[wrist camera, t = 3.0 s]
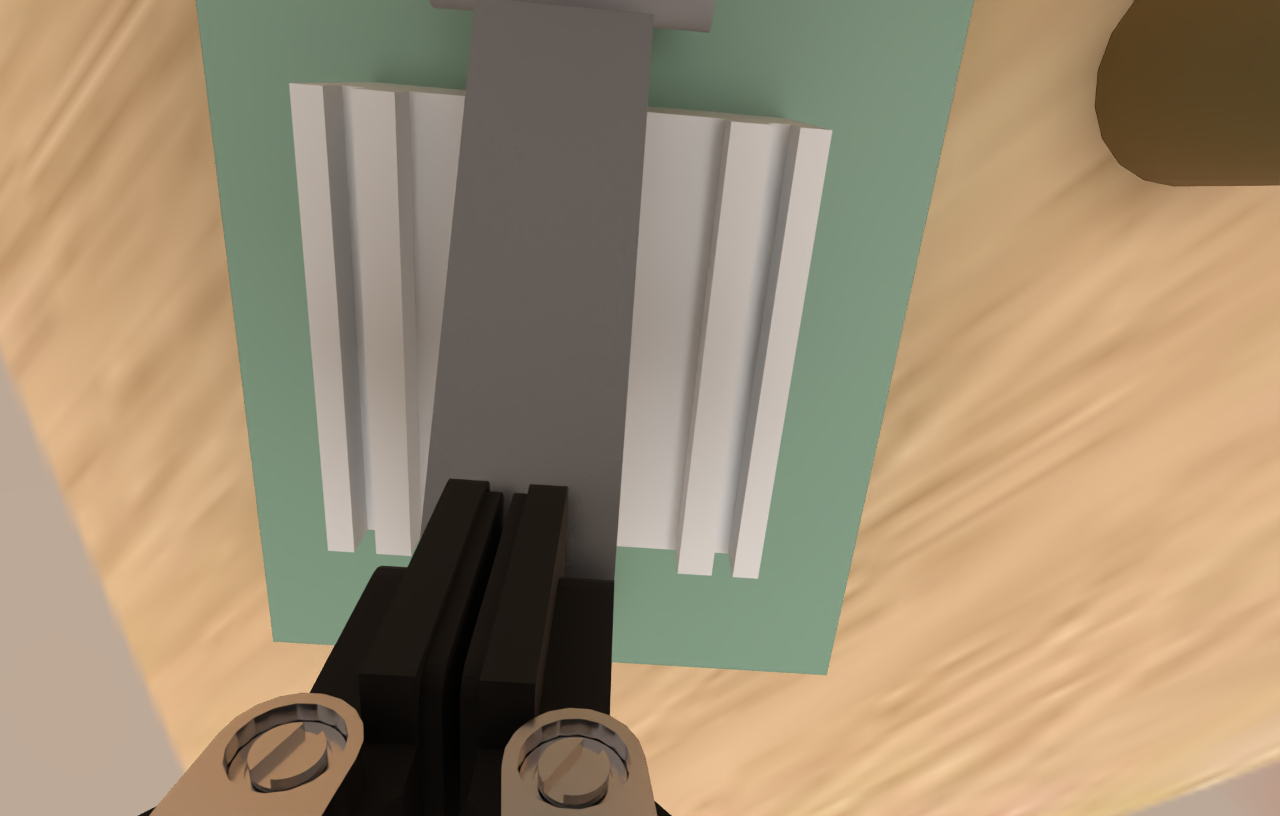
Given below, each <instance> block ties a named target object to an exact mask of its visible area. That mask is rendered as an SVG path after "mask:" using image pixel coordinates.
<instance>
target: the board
mask: <svg viewBox="0 0 1280 816" xmlns="http://www.w3.org/2000/svg"><path fill="white" fill-rule="evenodd" d="M506 1H517V2H527V3H538V4H549V5H560V6H571V7H582V8H593V9H604V10H615V11H625V12H636V13H647V14H654V23H653V37H652V51H651V65H650V80H649V94H648V108H647V122H646V136H645V151H644V165H643V179H642V193H641V208H640V222H639V236H638V250H637V265H636V279H635V293H634V307H633V321H632V336H631V350H630V364H629V378H628V393H627V407H626V421H625V435H624V449H623V464H622V478H621V492H620V506H619V521H618V535H617V549H616V563H615V577H614V611H613V638H612V662H618V663H635V664H651V665H667V666H684V667H700V668H717V669H733V670H750V671H766V672H783V673H799V674H816V675H827V671H828V667H829V662H830V657H831V653H832V648H833V644H834V639H835V635H836V630H837V625H838V621H839V616H840V612H841V607H842V603H843V598H844V593H845V589H846V584H847V580H848V575H849V571H850V566H851V561H852V557H853V552H854V548H855V543H856V539H857V534H858V529H859V525H860V520H861V516H862V511H863V507H864V502H865V497H866V493H867V488H868V484H869V479H870V475H871V470H872V465H873V461H874V456H875V452H876V447H877V443H878V438H879V433H880V429H881V424H882V420H883V415H884V411H885V406H886V401H887V397H888V392H889V388H890V383H891V379H892V374H893V369H894V365H895V360H896V356H897V351H898V347H899V342H900V337H901V333H902V328H903V324H904V319H905V315H906V310H907V305H908V301H909V296H910V292H911V287H912V283H913V278H914V273H915V269H916V264H917V260H918V255H919V251H920V246H921V241H922V237H923V232H924V228H925V223H926V219H927V214H928V209H929V205H930V200H931V196H932V191H933V187H934V182H935V177H936V173H937V168H938V164H939V159H940V155H941V150H942V145H943V141H944V136H945V132H946V127H947V123H948V118H949V113H950V109H951V104H952V100H953V95H954V91H955V86H956V81H957V77H958V72H959V68H960V63H961V59H962V54H963V49H964V45H965V40H966V36H967V31H968V27H969V22H970V17H971V13H972V8H973V4H974V0H506ZM474 4H475V0H196V6H197V14H198V22H199V30H200V39H201V47H202V55H203V64H204V72H205V80H206V88H207V97H208V105H209V113H210V121H211V130H212V138H213V146H214V154H215V163H216V171H217V179H218V187H219V196H220V204H221V212H222V221H223V229H224V237H225V245H226V254H227V262H228V270H229V278H230V287H231V295H232V303H233V311H234V320H235V328H236V336H237V345H238V353H239V361H240V369H241V378H242V386H243V394H244V402H245V411H246V419H247V427H248V435H249V444H250V452H251V460H252V469H253V477H254V485H255V493H256V502H257V510H258V518H259V526H260V535H261V543H262V551H263V559H264V568H265V576H266V584H267V592H268V601H269V609H270V617H271V626H272V634H273V642H289V643H305V644H322V645H335V644H336V642H337V640H338V638H339V636H340V635H341V633H342V631H343V629H344V627H345V625H346V623H347V621H348V619H349V618H350V616H351V614H352V612H353V610H354V608H355V606H356V604H357V602H358V601H359V599H360V597H361V595H362V593H363V591H364V589H365V587H366V585H367V584H368V582H369V580H370V578H371V576H372V574H373V573H374V571H375V570H376V568H377V567H379V566H397V567H408V565H409V563H410V561H411V558H412V556H413V554H414V552H415V550H416V548H417V546H418V543H419V541H420V533H421V523H422V513H423V504H424V494H425V484H426V474H427V464H428V455H429V445H430V435H431V425H432V415H433V406H434V396H435V386H436V376H437V367H438V357H439V347H440V337H441V327H442V318H443V308H444V298H445V288H446V278H447V269H448V259H449V249H450V239H451V229H452V220H453V210H454V200H455V190H456V181H457V171H458V161H459V151H460V141H461V132H462V122H463V112H464V102H465V92H466V83H467V73H468V63H469V53H470V44H471V34H472V24H473V14H474Z"/></svg>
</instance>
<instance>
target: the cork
mask: <svg viewBox="0 0 1280 816" xmlns="http://www.w3.org/2000/svg"><path fill="white" fill-rule="evenodd" d="M1095 109H1096V113H1097V117H1098V122H1099V126H1100V130H1101V134H1102V139H1103V140H1104V142H1105V143H1106V145H1107V146H1108V148H1109V149H1110V151H1111V152H1112V154H1113V155H1114V156H1115V158H1116V159H1117V161H1118V162H1119V164H1120V165H1122V166H1123V167H1125V168H1126V169H1128V170H1130V171H1131V172H1133V173H1134V174H1136V175H1137V176H1139V177H1140V178H1142V179H1143V180H1146V181H1151V182H1156V183H1161V184H1165V185H1170V186H1264V185H1280V0H1135V1H1134V3H1133V4H1132V6H1131V7H1130V9H1129V10H1128V11H1127V13H1126V14H1125V16H1124V17H1123V19H1122V20H1121V21H1120V23H1119V24H1118V26H1117V27H1116V29H1115V30H1114V31H1113V33H1112V35H1111V38H1110V41H1109V43H1108V46H1107V48H1106V51H1105V54H1104V56H1103V59H1102V62H1101V64H1100V67H1099V70H1098V79H1097V90H1096V102H1095Z"/></svg>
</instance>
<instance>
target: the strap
mask: <svg viewBox="0 0 1280 816" xmlns="http://www.w3.org/2000/svg"><path fill="white" fill-rule="evenodd" d="M653 23H654V14H647V13H636V12H625V11H615V10H604V9H593V8H582V7H571V6H560V5H549V4H538V3H527V2H517V1H506V0H475V4H474V14H473V24H472V34H471V44H470V53H469V63H468V73H467V83H466V92H465V102H464V112H463V122H462V132H461V141H460V151H459V161H458V171H457V181H456V190H455V200H454V210H453V220H452V229H451V239H450V249H449V259H448V269H447V278H446V288H445V298H444V308H443V318H442V327H441V337H440V347H439V357H438V367H437V376H436V386H435V396H434V406H433V415H432V425H431V435H430V445H429V455H428V464H427V474H426V484H425V494H424V504H423V513H422V523H421V533H420V539H421V537H422V535H423V533H424V530H425V528H426V526H427V524H428V522H429V520H430V518H431V515H432V513H433V511H434V509H435V507H436V505H437V502H438V500H439V498H440V496H441V494H442V492H443V490H444V487H445V485H446V483H447V481H448V480H449V479H450V478H452V479H466V480H481V481H489V483H490V491H495V492H503V497H504V513H503V529H504V525H505V522H506V518H507V515H508V511H509V508H510V504H511V501H512V498H513V494H514V493H525V494H527V492H528V489H529V485H530V484H540V485H554V486H568V509H567V528H566V547H565V566H564V577H569V578H584V579H600V580H614V577H615V563H616V549H617V535H618V521H619V506H620V492H621V478H622V464H623V449H624V435H625V421H626V407H627V393H628V378H629V364H630V350H631V336H632V321H633V307H634V293H635V279H636V265H637V250H638V236H639V222H640V208H641V193H642V179H643V165H644V151H645V136H646V122H647V108H648V94H649V80H650V65H651V51H652V37H653Z"/></svg>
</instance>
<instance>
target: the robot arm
mask: <svg viewBox="0 0 1280 816" xmlns="http://www.w3.org/2000/svg"><path fill="white" fill-rule="evenodd" d="M567 509H568V486H554V485H540V484H530V485H529V489H528V492H527V494H525V493H514V494H513V498H512V501H511V504H510V508H509V511H508V515H507V518H506V522H505V525H504V529H503V513H504V497H503V492H495V491H490V483H489V481H481V480H466V479H452V478H450V479H449V480H448V481H447V483H446V485H445V487H444V490H443V492H442V494H441V496H440V498H439V500H438V502H437V505H436V507H435V509H434V511H433V513H432V515H431V518H430V520H429V522H428V524H427V526H426V528H425V530H424V533H423V535H422V537H421V539H420V541H419V543H418V546H417V548H416V550H415V552H414V554H413V556H412V558H411V561H410V563H409V565H408V567H397V566H379V567H377V568H376V570H375V571H374V573H373V574H372V576H371V578H370V580H369V582H368V584H367V585H366V587H365V589H364V591H363V593H362V595H361V597H360V599H359V601H358V602H357V604H356V606H355V608H354V610H353V612H352V614H351V616H350V618H349V619H348V621H347V623H346V625H345V627H344V629H343V631H342V633H341V635H340V636H339V638H338V640H337V642H336V644H335V646H334V648H333V650H332V652H331V653H330V655H329V657H328V659H327V661H326V663H325V665H324V667H323V669H322V671H321V672H320V674H319V676H318V678H317V680H316V682H315V684H314V686H313V688H312V689H311V691H310V693H298V694H292V695H286V696H280V697H277V698H274V699H271V700H269V701H266V702H263V703H260V704H257V705H256V706H254V707H252V708H251V709H249V710H247V711H245V712H244V713H242V714H240V715H239V716H237V717H236V718H234V719H233V720H232V721H231V722H230V723H229V724H228V725H227V726H226V727H225V728H224V729H223V730H221V731H220V732H219V733H218V735H217V736H216V737H215V738H214V739H213V740H212V742H211V743H210V744H209V745H208V746H207V748H206V749H205V750H204V751H203V752H202V754H201V755H200V756H199V757H198V758H197V759H196V761H195V762H194V763H193V764H192V765H191V767H190V768H189V769H188V770H187V771H186V772H185V774H184V775H183V776H182V777H181V778H180V780H179V781H178V782H177V783H176V784H175V785H174V787H173V788H172V789H171V790H170V791H169V793H168V794H167V795H166V796H165V798H163V800H162V801H161V802H160V803H159V804H158V806H156V807H154V808H152V809H150V810H148V811H147V812H144V813H143V814H140V815H138V816H671V815H670V814H669V813H668V812H667V811H666V810H664V809H663V808H662V807H661V806H660V805H659V804H658V803H656V802H655V801H654V797H653V792H652V787H651V782H650V777H649V772H648V767H647V762H646V757H645V754H644V752H643V750H642V747H641V745H640V742H639V740H638V739H637V737H636V736H635V735H634V734H633V733H632V732H631V731H630V730H629V728H628V727H627V726H626V725H624V724H623V723H621V722H619V721H618V720H616V719H615V718H613V717H611V716H610V692H611V665H612V638H613V611H614V580H600V579H584V578H569V577H564V566H565V547H566V528H567Z"/></svg>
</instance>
